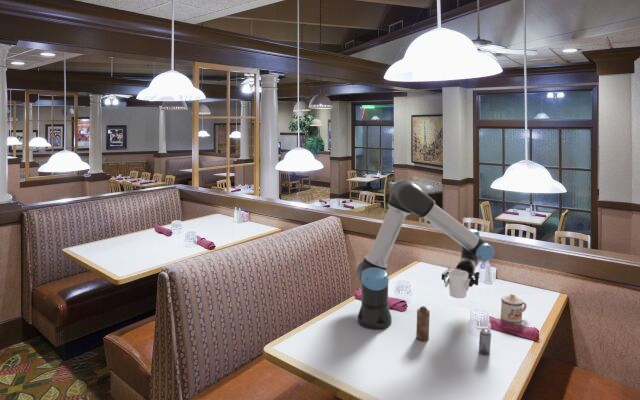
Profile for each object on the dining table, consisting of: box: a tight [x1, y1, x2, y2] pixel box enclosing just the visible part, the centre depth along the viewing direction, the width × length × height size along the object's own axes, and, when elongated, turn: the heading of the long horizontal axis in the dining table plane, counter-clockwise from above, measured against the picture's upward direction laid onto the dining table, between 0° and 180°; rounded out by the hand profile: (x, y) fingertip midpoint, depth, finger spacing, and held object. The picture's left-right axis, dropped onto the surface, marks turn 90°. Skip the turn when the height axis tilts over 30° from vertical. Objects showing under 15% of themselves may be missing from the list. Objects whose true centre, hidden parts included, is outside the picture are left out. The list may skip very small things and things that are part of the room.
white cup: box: [448, 269, 469, 299], centre depth 175 cm, size 8×8×10 cm
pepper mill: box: [415, 305, 431, 342], centre depth 171 cm, size 5×5×14 cm
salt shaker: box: [478, 328, 492, 356], centre depth 160 cm, size 4×4×9 cm
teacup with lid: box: [500, 293, 528, 324], centre depth 187 cm, size 12×9×12 cm
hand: (456, 285), depth 170 cm, fingers closed on white cup, 8 cm apart
